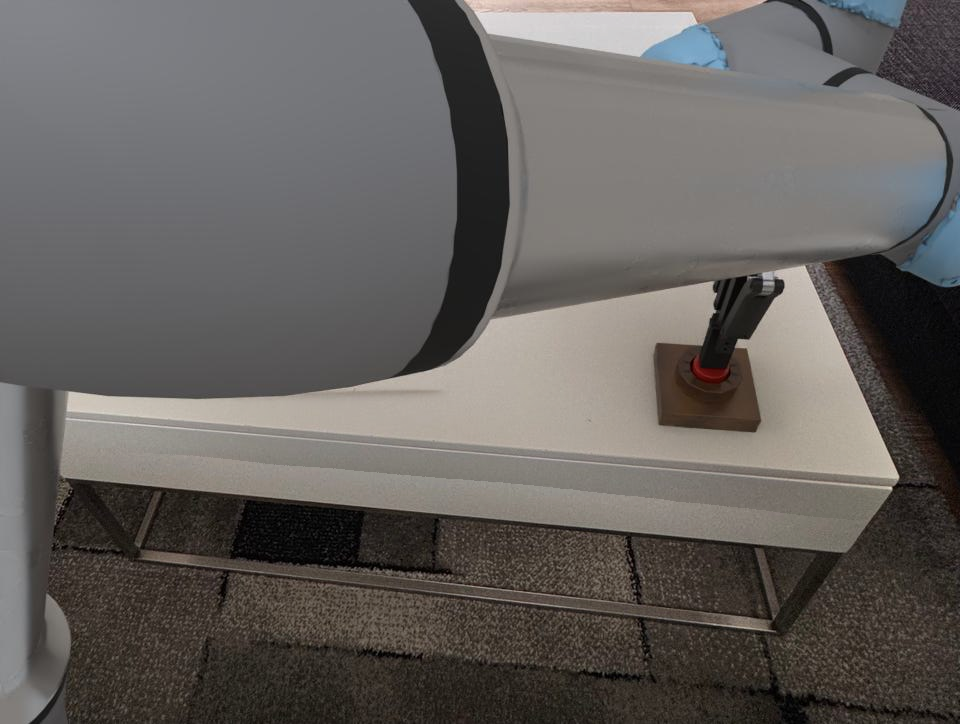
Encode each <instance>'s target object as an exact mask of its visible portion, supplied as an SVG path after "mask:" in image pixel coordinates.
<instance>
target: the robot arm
mask: <svg viewBox="0 0 960 724" xmlns="http://www.w3.org/2000/svg"><path fill="white" fill-rule="evenodd" d="M907 1H908V0H764V1H763V2H761V3H759V4H758V3H757V4H756V5H753V6H750V7H747V8H743V9H741V10H738V11H735V12H732V13H729V14H726V15H723V16H720V17H717V18H714V19H712V20H708V21H705V22H702V23H699V24H698V23H695V24H693V25H689V26H688V27H686V28H683V30H681V32H679V33H677V34H675V35H673V36H671V37H668V38H666V39H664V40H661V41H659V42H657V43H654V44H653V45H651V46H650V47H648V48H647V49H646V50H645V51H644V52H643V53H642V54H641V55H640V56H637V55H631V54H624V53H617V52H612V51H611V52H610V51H604V50H598V49H592V48H584V47H578V46H571V45H565V44H558V43H553V42H545V41H540V40H532V39H526V38H519V37H514V36H507V35H501V34H500V35H499V34H493V33H488V32H487V29H486V28H485V27H484V25H483V24H482V21H481V20H480V19H479V17H478V15H477V14H476V12H475V11H474V10H473V8H471V6H470V5H469V4H468V2H466V0H0V724H69V721H68V716H67V710H66V688H67V680H68V674H69V667H70V659H71V648H72V636H71V627H70V625H69V622H68V620H67V617H66V616H65V613H64V611H63V609H62V607H60V605H59V604H58V603H57V601H56V600H55V599H54V598H53V597H51V595H49V593H48V588H49V587H48V586H49V577H50V569H51V568H50V567H51V558H52V550H53V539H54V532H55V531H54V530H55V521H56V512H57V503H58V494H59V485H60V475H61V468H62V467H61V466H62V458H63V449H64V440H65V439H64V438H65V429H66V420H67V412H68V403H69V394H70V392H71V393H78V394H79V393H80V394H86V395H94V396H103V397H118V398H119V397H120V398H121V397H122V398H149V399H150V398H151V399H153V398H154V399H179V400H180V399H181V400H182V399H183V400H213V399H237V398H238V399H240V398H241V399H242V398H268V397H269V398H271V397H287V396H295V395H296V396H297V395H303V394H311V393H317V392H325V391H332V390H340V389H347V388H353V387H357V386H362V385H367V384H371V383H377V382H380V381H386V380H391V379H395V378H398V377H399V378H400V377H405V376H409V375H414V374H419V373H424V372H428V371H431V370H435V369H439V368H442V367H445V366H447V365H449V364H451V363H453V362H454V361H456V360H458V359H459V358H461V357H462V356H463V355H464V354H465V353H466V352H468V350H469V349H471V347H473V346H474V345H475V343H476V342H477V340H478V339H479V338H480V336H481V335H482V334H483V333H484V331H486V328H487V326H488V325H489V323H490V321H492V320H495V319H496V320H497V319H502V318H507V317H514V316H519V315H526V314H530V313H536V312H543V311H550V310H555V309H560V308H565V307H566V308H567V307H572V306H577V305H583V304H589V303H596V302H599V301H600V302H601V301H606V300H612V299H613V300H614V299H619V298H624V297H625V298H626V297H631V296H635V295H642V294H647V293H654V292H660V291H665V290H671V289H676V288H677V289H678V288H682V287H688V286H693V285H701V284H705V283H712V282H713V284H712V292H713V293H714V294H715V297H714V299H713V303H712V305H713V310H714V311H715V312H713V313H712V314H711V317H710V318H709V321H708V326H707V330H706V333H705V336H704V339H703V342H702V348H701V351H700V354H699V364H700V368H715V369H727V367H728V364H729V362H730V359H731V356H732V354H733V351H734V349H735V348H736V345H737V343H738V340H745V341H750V340H751V338H752V336H753V334H754V333H755V331H756V330H757V328H758V327H759V325H760V323H761V322H762V320H763V318H764V317H765V315H766V313H767V311H768V310H769V308H770V306H771V305H772V303H773V302H774V300H775V299H776V298H777V297H779V296H781V295H782V294H783V292H784V290H785V288H786V285H785V280H784V279H783V278H780V277H778V276H775V271H781V270H788V269H793V268H798V267H804V266H805V267H806V266H810V265H814V264H815V265H816V264H823V263H828V262H833V261H834V262H835V261H841V260H844V259H850V258H856V257H863V256H864V257H865V256H871V255H873V256H874V255H881V256H882V257H884V258H885V259H888V260H890V261H891V262H893V263H894V264H896V265H895V268H896V269H897V268H898V269H899V270H900V271H901V272H909V273H911V274H912V275H914V276H917V277H919V278H920V279H922V280H925V281H926V282H929V283H930V284H932V285H936V286H938V287H942V288H952V287H957V286H960V110H958V109H956V108H953V107H951V106H949V105H947V104H944V103H942V102H940V101H937V100H935V99H933V98H931V97H928V96H926V95H924V94H921V93H919V92H916V91H913V90H912V89H909V88H907V87H905V86H901V85H900V84H897V83H895V82H893V81H889V80H888V79H885V78H882V77H880V76H877V75H876V74H877V73H878V70H879V68H880V65H881V64H882V61H883V58H884V56H885V54H886V52H887V49H888V47H889V45H890V43H891V40H892V38H893V36H894V34H895V31H896V29H899V28H900V25H901V22H902V21H901V18H902V16H903V12H904V10H905V7H906V4H907Z"/></svg>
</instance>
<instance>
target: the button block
mask: <svg viewBox="0 0 960 724" xmlns="http://www.w3.org/2000/svg"><path fill="white" fill-rule="evenodd" d="M702 345H703V344H702ZM702 345H701V344H699V345H698V344H684V343H670V342H656V344H655V347H654V351H653V355H652V357H653V359H652V360H653V368H654V369H653V371H654V383H655V396H656V410H657V421H658V422H657V423H658V426H664V427H665V426H667V427H679V428H693V429H704V430H705V429H707V430H719V431H720V430H721V431H732V432H733V431H734V432H744V433H745V432H746V433H756V432H757V430H758V428H759V426H760V424H761V423H762V416H761V411H760V407H759V401H758V396H757V390H756V387H755V381H754V376H753V371H752V365H751V361H750V356H749V351H748V350H749V349H748V348H745V347H735V349H734V351H733V354H732V356H731V359H730V362H729V371H728V374H727V376H726V379H725V381H724V382H721V383H719V384H711V383H705V382H703V381H701V380H699V379H697V378H696V377H695V375H694V374H693V373H692V372H691V369H692V366H693V362H694V359H695V358H696V356H697V355H699V354H700V351H701V348H702Z"/></svg>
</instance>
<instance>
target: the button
mask: <svg viewBox="0 0 960 724" xmlns="http://www.w3.org/2000/svg"><path fill="white" fill-rule="evenodd" d="M728 371H729V364H728V367H727V369H715V368H700V364H699V355H697V356H696V358H695V359H694V362H693V366H692V369H691V372H692V373H693V374H694V375H695V377H696V378H697V379H699V380H701V381H703V382H705V383H711V384H719V383H721V382H724V381H725V379H726V376H727V374H728Z"/></svg>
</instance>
